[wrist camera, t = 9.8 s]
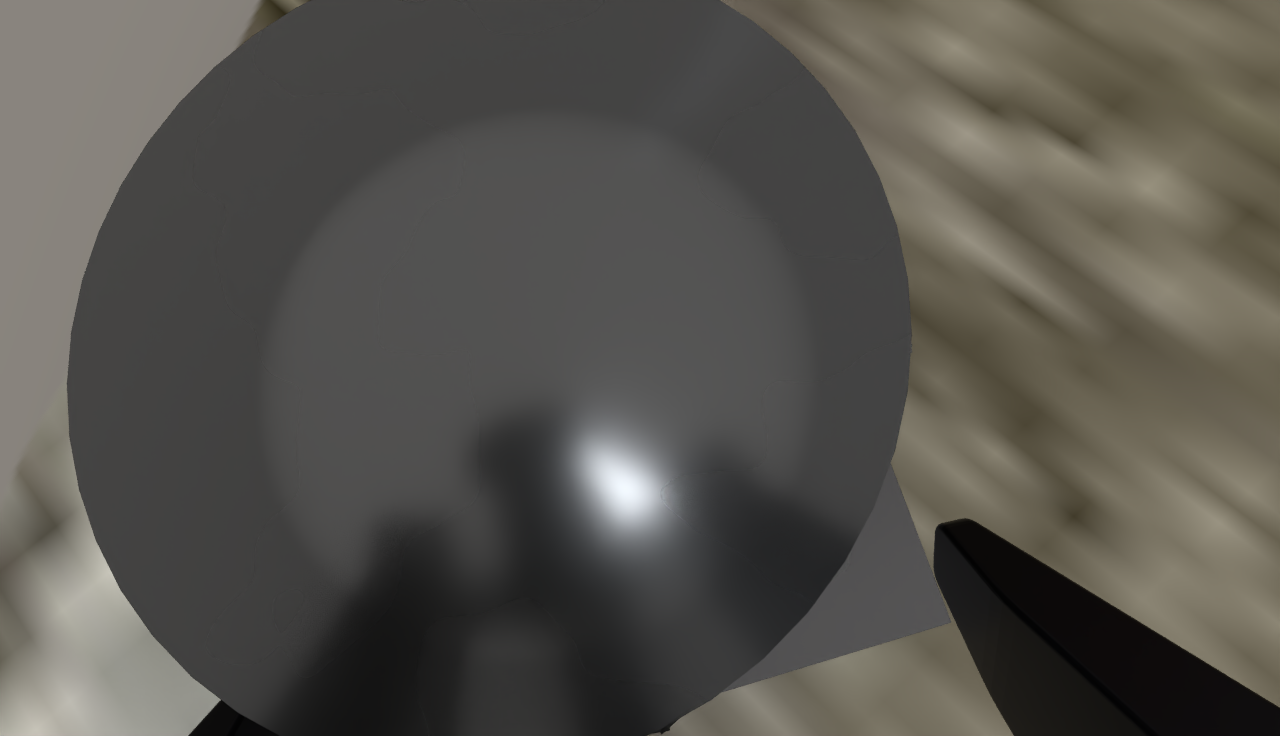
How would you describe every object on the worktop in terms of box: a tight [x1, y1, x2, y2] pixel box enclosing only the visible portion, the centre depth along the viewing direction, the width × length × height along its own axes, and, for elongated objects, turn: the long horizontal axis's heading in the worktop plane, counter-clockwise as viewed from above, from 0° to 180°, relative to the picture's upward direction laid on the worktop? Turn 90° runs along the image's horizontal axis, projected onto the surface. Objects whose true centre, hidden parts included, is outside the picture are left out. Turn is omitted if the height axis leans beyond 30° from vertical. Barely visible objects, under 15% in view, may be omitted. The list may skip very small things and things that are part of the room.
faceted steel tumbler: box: [67, 0, 912, 736], centre depth 11 cm, size 7×7×12 cm
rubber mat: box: [722, 463, 951, 692], centre depth 17 cm, size 13×13×3 cm
